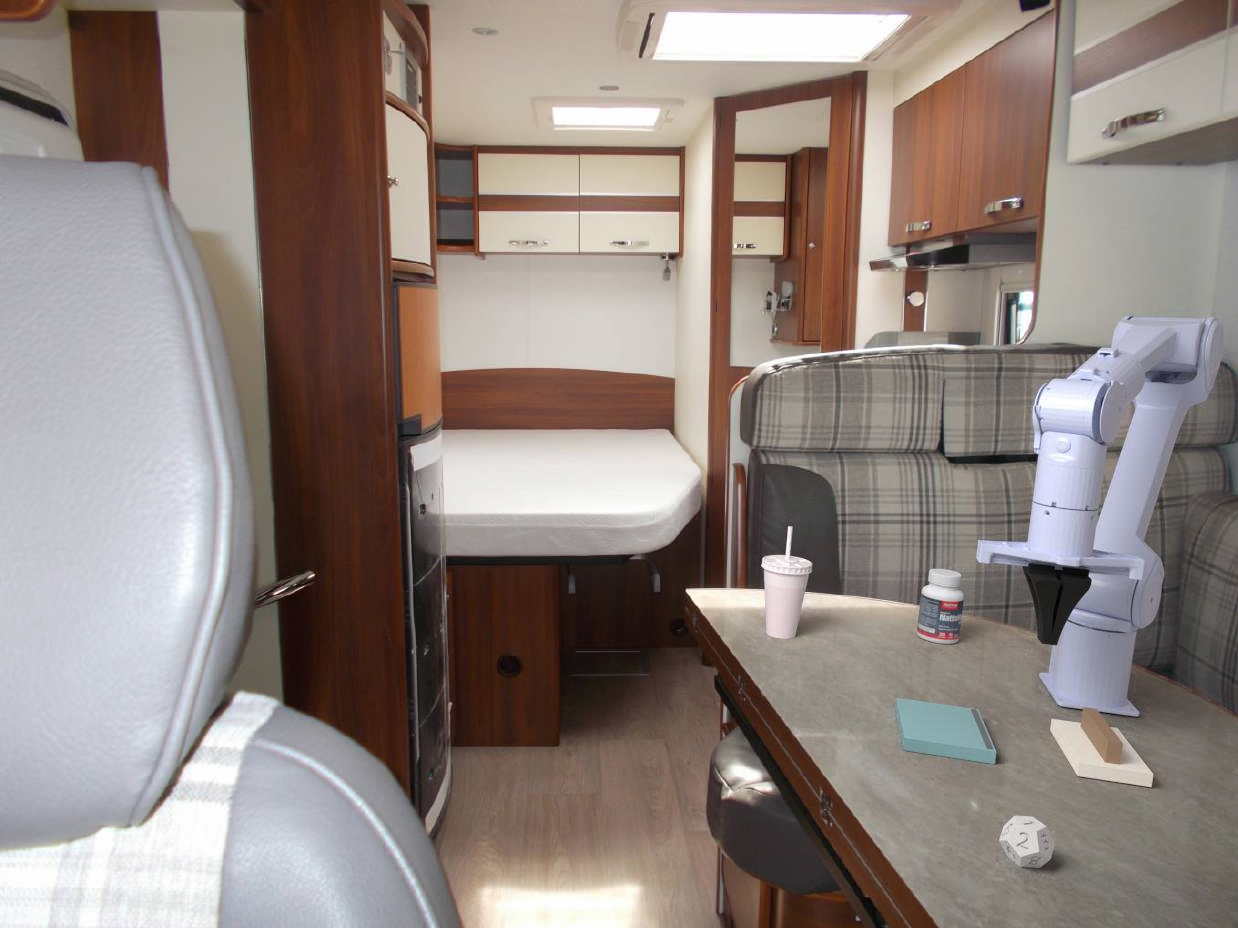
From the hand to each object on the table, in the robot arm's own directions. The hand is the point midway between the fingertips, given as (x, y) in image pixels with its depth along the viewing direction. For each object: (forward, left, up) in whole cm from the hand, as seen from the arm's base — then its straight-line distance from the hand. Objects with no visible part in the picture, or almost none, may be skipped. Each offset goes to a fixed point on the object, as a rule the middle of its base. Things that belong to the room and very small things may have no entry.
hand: (1047, 641), depth 87 cm
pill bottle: (-28, -6, -10) cm, 30 cm away
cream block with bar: (+4, +5, -9) cm, 11 cm away
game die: (+25, -6, -10) cm, 27 cm away
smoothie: (-21, -26, -10) cm, 35 cm away
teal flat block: (+4, -9, -9) cm, 14 cm away
